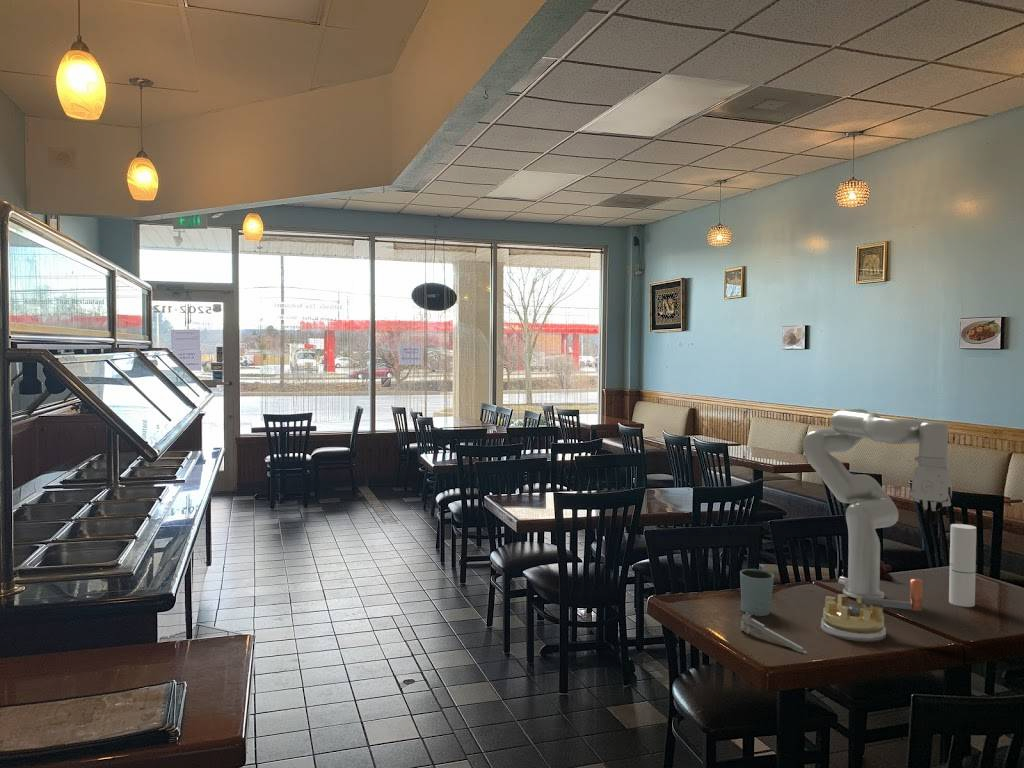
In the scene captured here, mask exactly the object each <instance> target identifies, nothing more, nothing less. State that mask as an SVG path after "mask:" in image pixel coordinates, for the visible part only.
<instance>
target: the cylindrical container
mask: <svg viewBox="0 0 1024 768" xmlns="http://www.w3.org/2000/svg"><path fill="white" fill-rule="evenodd" d="M949 528H950V529H949V530H950V534H949V538H950V539H949V541H950V543H949V546H950V547H949V574H948V575H949V579H948V580H949V583H948V587H949V588H948V602H949V603H950V605H954V606H957V607H963V608H972V607H975V605H976V603H975V602H976V570H977V569H976V561H977V527H976V526H975V525H970V524H963V523H951V524H950V527H949Z"/></svg>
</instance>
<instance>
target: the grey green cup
mask: <svg viewBox="0 0 1024 768" xmlns="http://www.w3.org/2000/svg"><path fill="white" fill-rule="evenodd" d="M739 578H740V581H739V582H740V596H741V599H740V609H741V612H742V611H743V612H742V613H744V612H748V615H749V614H751V616H753V615H755V617H764V616H769V615H770V614H771V609H772V608H771V607H772V597H773V594H772V592H773V588H774V583H775V582H774V580H775V574H774V573H772V572H770V571H768V570H763V569H757V568H745V569H742V570H740V571H739Z"/></svg>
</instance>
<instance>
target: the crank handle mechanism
mask: <svg viewBox="0 0 1024 768" xmlns="http://www.w3.org/2000/svg"><path fill="white" fill-rule="evenodd" d="M923 582H924V581H923V580H922V579H920V578H913V577H912V578H910V582H909V583H910V585H909V587H910V589H909V601H907V600H895V599H888V598H883V599H879V598H869V597H863V596H858V597H857V598H855V599H856V601H855V602H856V604H854V603H849V602H848V599H849V598H848V597H849V596H847V595H845V594H844V593H838V594H837V598H836V597H834V596H829V595H826V596H825V597H824V607H823V608H822V612H823V613H822V618H823V621H824V622H825V623H826V624H828V625H830V626H832V627H834V628H837V629H841V630H845V631H850V632H858V633H874V632H879V631H882V630H883V629H884V626H885V615H884V608H893V609H902V610H903V609H904V610H911V611H912V610H913V611H917V612H920V611H922V610H923ZM836 600H837V601H836ZM867 606H869V607H867Z"/></svg>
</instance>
